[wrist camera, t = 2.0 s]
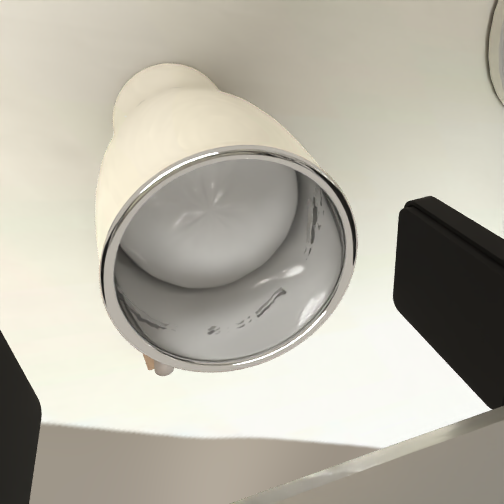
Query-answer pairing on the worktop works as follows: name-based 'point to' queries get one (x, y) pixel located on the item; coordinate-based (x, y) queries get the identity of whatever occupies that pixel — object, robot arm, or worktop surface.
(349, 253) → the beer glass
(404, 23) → the worktop surface
